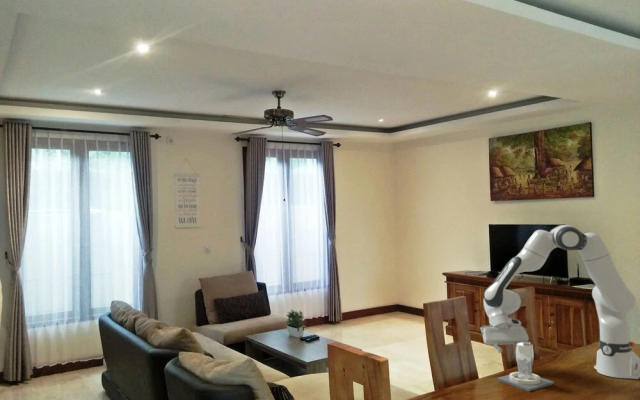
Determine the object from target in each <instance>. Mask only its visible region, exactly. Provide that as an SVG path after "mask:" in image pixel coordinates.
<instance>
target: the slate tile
mask: <svg viewBox="0 0 640 400" xmlns="http://www.w3.org/2000/svg"><path fill="white" fill-rule="evenodd" d="M532 377H533V380H521V379H518V371H513V372H510V373H509V374H507V375H503V376H499V377H496V381H498V382H500V383H504V384H505V385H506V384H507V385H508V386H509V385H510V386H512V387H514V386H515V387H514V388H517V389H521V390H523V389H524V391H525V392H526V391H527V392H532V390H533V391H535V390H539V389H542V388H545V387H546V388H547V387H549V386H553V385H554V384H555V381H553V380H549V379H546V378H543V377H541V376H539V375H538V374H535V373H533V372H532ZM552 384H553V385H552Z"/></svg>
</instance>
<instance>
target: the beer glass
mask: <svg viewBox="0 0 640 400" xmlns="http://www.w3.org/2000/svg"><path fill="white" fill-rule="evenodd" d="M533 347H534V346H533V343H531V342H527V343H526V342H518V343H516V344H515V359H516V364H517V370H518V371H517V372H518V379H521V380H533V377H532V373H533V365H534V348H533Z"/></svg>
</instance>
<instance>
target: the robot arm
mask: <svg viewBox="0 0 640 400" xmlns="http://www.w3.org/2000/svg"><path fill="white" fill-rule="evenodd" d="M556 248H560V249H562V250H564V251H578V253H579V254H580V257H581V259H582V263H583V266H584V267H585V268H586V272H587V274H588V277H589V278H590V279H591V281H592V282H593V283H594V285H595V286H594V287H593V288H592V291H591V296H592V299H593V301H594V303H595V309H596V314H597V317H598V323H599V339H598V347H599V349H598V350H597V351H596V364H595V365H593V368H594V369H595V370H596V371H597V372H598V374H601V375H603V376H607V377H611V378H618V379H632V380H639V379H640V357H639V356H638V355H636V353H635V352H634V351H633V348H634V347H635V342H634V341H630V339H629V338H630V335H629V333H630V331H629V324H628V323H629V322H628V321H627V319H626V316H625V313H629V312H632V311H633V310H634V309H635V307H636V304H637V299H636V297H635V295H634V294H633V293H632V292H631V290H630V289H629V287H628V286H627V284H626V283H625V280H624V279H623V278H622V276H621V275H620V273H619V272H618V270H617V269H616V266H615V263H614V261H613V259H612V257H611V255H610V252H609V250H608V248H607V246H606V244H605V242H604V241H603V239H602V237H601V236H600V235H599V234H598V233H596V232H585V233H583V232H582V231H581V230H579V229H578V228H576V227H574V226H573V225H569V224H559V225H556V226H555V227H553V228H552V229H550V230H544V229H537V230H535V231H533V233H532V235H531V236H530V237H529V238H528V239H527V241H526V243H525V244H524V246H523V248H522V249H521V250H520V251H519V253H518V254H517V255H516V256H513V257H512V258H511V259H509V261H508V262H507V263H506V264H505V266H504V267H503V268H502V270H501V271H500V272H499V273H498V275H497V276H496V277H495V279H494V280H493V282H492V283H491V284H489V285H488V286H487V287H486V289H485V290H484V294H483V299H482V300H483V308H484V311H485V314H486V316H487V318H488V322H489V325H482V326H481V327H480V333H481V334H482V338H483V340H482V341H483V343H484V345H486V346H492V347H493V348H494V349H495V350H497V352H498V354H502V353H503V349H502V347H500V346H499V345H516V343H518V342H526V343H528V341H529V339H530V338H529V336H528V333H527V331H526V329H525V327H523V326H522V321H520V320H519V319H514V318H511V317H508V315H511V314H513V313H515V312H518V310H519V309H520V308H521V305H522V298H521V296H520V294H518V293H517V292H515V291H512V290H509V289H506V288H507V287H508V286H509V284H510V283H511V282H512V280H513V279H514V278H515V276H517V275H518V274H520V273H524V272H535V271H538V270H540V269H541V268H542V267H543V266H544V264H545V263H546V261H547V259H548V258H549V256H550V253H551V252H552V251H553V250H554V249H556ZM632 347H633V348H632Z"/></svg>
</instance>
